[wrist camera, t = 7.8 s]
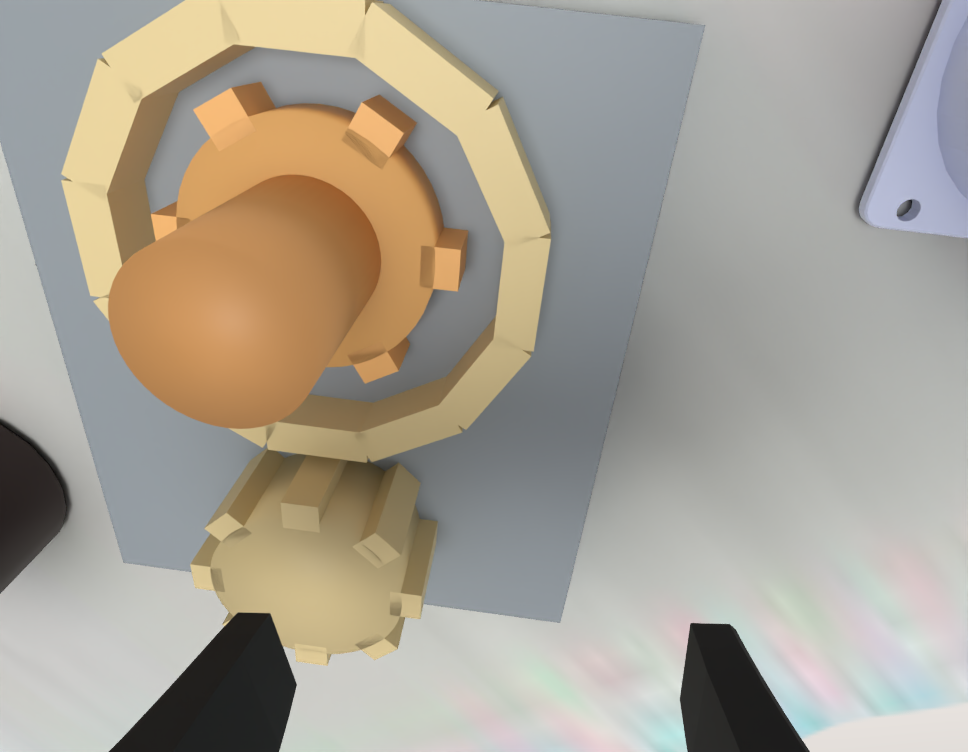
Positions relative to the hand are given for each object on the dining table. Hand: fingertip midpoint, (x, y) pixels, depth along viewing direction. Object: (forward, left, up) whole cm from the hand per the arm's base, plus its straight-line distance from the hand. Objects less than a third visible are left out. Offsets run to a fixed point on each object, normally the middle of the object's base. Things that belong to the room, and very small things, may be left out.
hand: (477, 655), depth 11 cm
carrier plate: (+5, -1, -9) cm, 11 cm away
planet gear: (+5, -5, -8) cm, 10 cm away
